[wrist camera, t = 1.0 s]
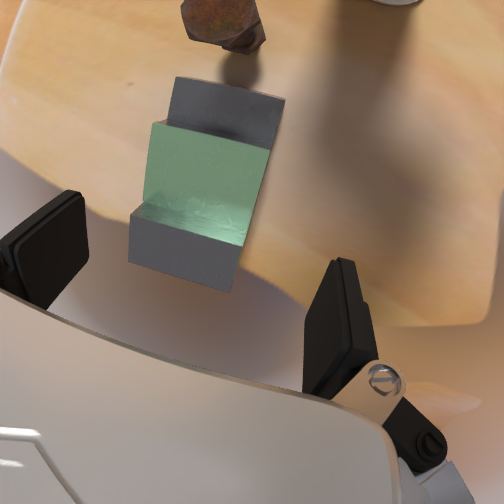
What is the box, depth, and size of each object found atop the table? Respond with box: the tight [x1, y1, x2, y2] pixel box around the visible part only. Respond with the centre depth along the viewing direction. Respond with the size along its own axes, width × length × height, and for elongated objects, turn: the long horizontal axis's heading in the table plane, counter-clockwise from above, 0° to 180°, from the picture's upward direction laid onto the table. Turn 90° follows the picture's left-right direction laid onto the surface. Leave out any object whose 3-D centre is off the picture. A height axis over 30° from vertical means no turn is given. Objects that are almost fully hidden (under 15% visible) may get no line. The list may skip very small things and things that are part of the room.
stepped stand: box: [128, 77, 286, 292], centre depth 32 cm, size 20×12×10 cm, turn 166°
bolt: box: [181, 0, 266, 55], centre depth 22 cm, size 6×5×15 cm
